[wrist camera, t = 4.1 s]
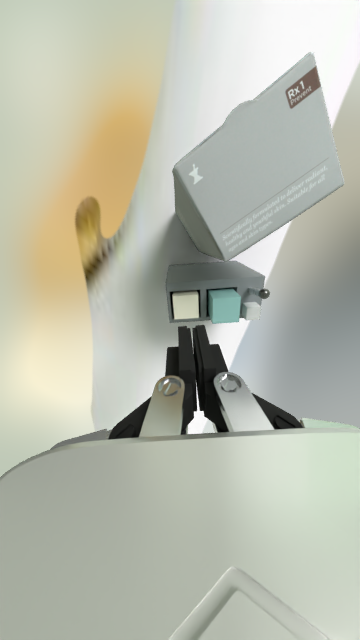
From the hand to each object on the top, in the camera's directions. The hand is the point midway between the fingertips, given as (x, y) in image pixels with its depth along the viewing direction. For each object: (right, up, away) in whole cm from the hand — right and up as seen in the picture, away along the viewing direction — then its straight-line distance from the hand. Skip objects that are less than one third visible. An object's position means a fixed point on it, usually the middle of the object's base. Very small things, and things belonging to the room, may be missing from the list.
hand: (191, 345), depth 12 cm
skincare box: (+3, +16, +13) cm, 21 cm away
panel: (+3, +8, +16) cm, 19 cm away
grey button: (+7, +3, +8) cm, 11 cm away
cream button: (0, +4, +10) cm, 11 cm away
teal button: (+4, +4, +8) cm, 10 cm away
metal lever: (+7, +5, +7) cm, 11 cm away
